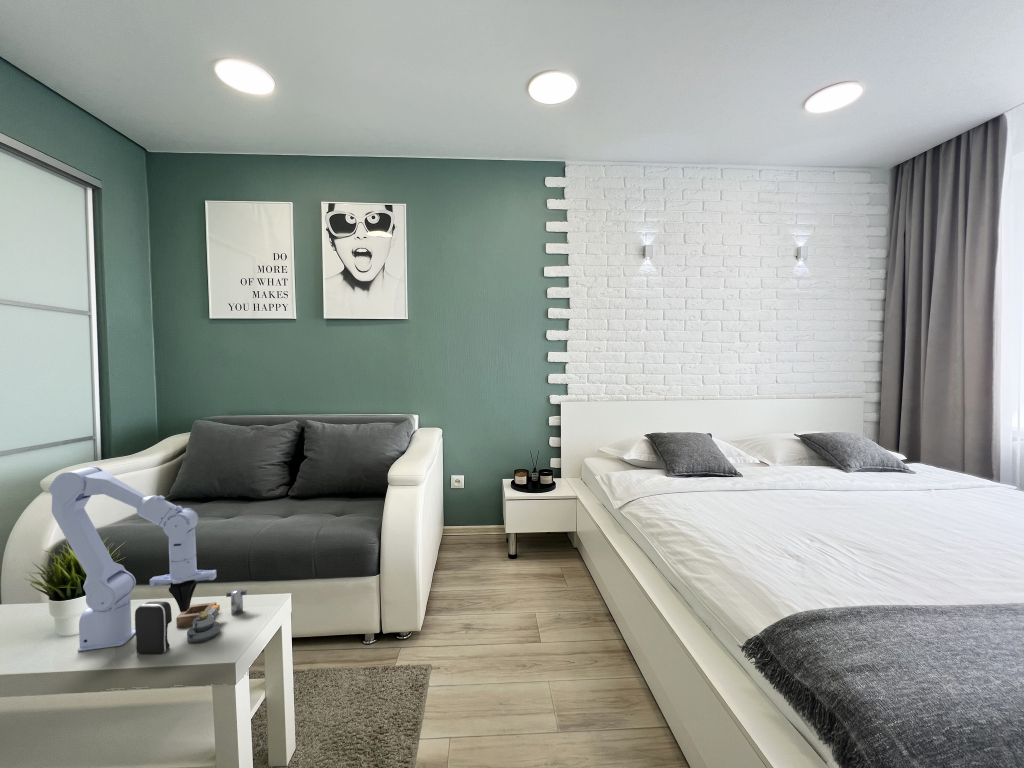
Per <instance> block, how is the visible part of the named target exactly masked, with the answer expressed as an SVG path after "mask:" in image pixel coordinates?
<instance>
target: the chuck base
mask: <svg viewBox="0 0 1024 768" xmlns="http://www.w3.org/2000/svg"><path fill="white" fill-rule="evenodd" d="M207 617H208V611H202V612H200V613H199V619H205V618H207ZM220 634H221V622H219V621H215V620H214V626H213V627H212V628H210V629H208V630H205V631H201V632H195V631H193V626H192V627H190V628H189V629H188V630H187V631H186V642H187V643H188V644H191V645H199V644H203V643H207V642H209V641H212V640H214V639H216V638H217V637H219V635H220Z"/></svg>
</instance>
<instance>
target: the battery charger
mask: <svg viewBox="0 0 1024 768" xmlns="http://www.w3.org/2000/svg"><path fill="white" fill-rule="evenodd" d="M172 615H173V614H172V607H171V604H170V603H169V602H167V601H148V602H145V603H144V604H141V605H139V606H138V607H137V608H136V609H135V611H134V626H135V627H134V628H135V631H136V633H135V643H136V646H135V647H136V653H137V654H140V655H141V654H142V655H143V654H144V655H154V654H155V655H156V654H157V655H159V654H163V653H165V652H166V651H168V650H169V648H170V643H169V640H168V627H169V624H170V623H172V620H173V619H172V617H173V616H172Z"/></svg>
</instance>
